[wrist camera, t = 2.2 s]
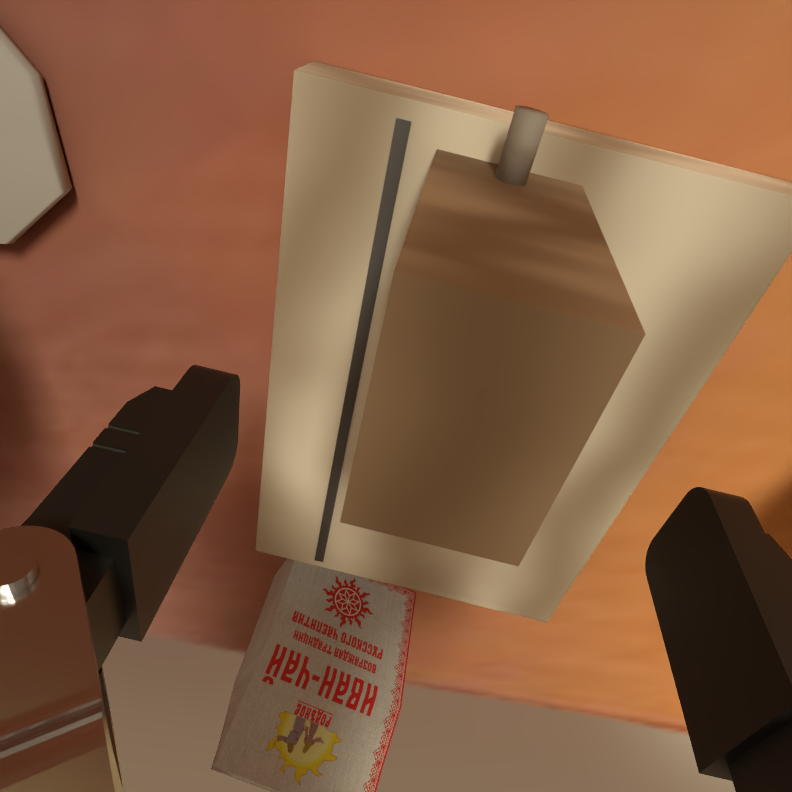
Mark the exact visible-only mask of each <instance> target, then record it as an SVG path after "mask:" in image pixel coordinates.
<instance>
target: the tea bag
mask: <svg viewBox="0 0 792 792" xmlns="http://www.w3.org/2000/svg"><path fill="white" fill-rule="evenodd" d="M415 596H416V593H414V592H412V591H410V590H408V589H406V588H404V587H401V586H397V585H393V584H389V583H385V582H381V581H377V580H373V579H369V578H365V577H361V576H356V575H352V574H348V573H344V572H340V571H336V570H332V569H328V568H324V567H320V566H316V565H312V564H308V563H304V562H300V561H296V560H292V559H288V558H287V559H286V561H285V562H284V563H283V565H282V566H281V567H280V569H279V570H278V571H277V573H276V574H275V576H274V579H273V581H272V584H271V587H270V589H269V592H268V595H267V597H266V600H265V603H264V605H263V608H262V611H261V614H260V616H259V619H258V622H257V624H256V627H255V630H254V632H253V635H252V638H251V640H250V643H249V646H248V648H247V651H246V654H245V657H244V659H243V662H242V665H241V667H240V670H239V673H238V675H237V678H236V681H235V684H234V688H233V692H232V696H231V700H230V704H229V708H228V712H227V715H226V719H225V723H224V727H223V731H222V734H221V738H220V742H219V745H218V749H217V752H216V756H215V758H214V762H213V765H212V768H211V769H212V770H215V771H218V772H220V773H223V774H226V775H229V776H231V777H234V778H236V779H239V780H242V781H245V782H247V783H250V784H253V785H255V786H258V787H261V788H263V789H266V790H269V791H271V792H376V789H377V785H378V782H379V778H380V774H381V771H382V767H383V764H384V761H385V758H386V754H387V751H388V748H389V745H390V741H391V738H392V735H393V732H394V728H395V725H396V722H397V719H398V715H399V712H400V709H401V702H402V696H403V688H404V680H405V673H406V665H407V657H408V650H409V642H410V634H411V626H412V619H413V611H414V603H415Z"/></svg>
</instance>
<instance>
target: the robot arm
mask: <svg viewBox="0 0 792 792" xmlns="http://www.w3.org/2000/svg"><path fill="white" fill-rule="evenodd" d="M239 399H240V379H239V376H238V375H235V374H231V373H227V372H223V371H219V370H214V369H210V368H206V367H202V366H198V365H193V366H191V367H190V368H189V369H188V371H187V372H186V373H185V374H184V376H183V377H182V378H181V380H180V381H179V382H178V384H177V385H176V386H175V388H174V389H173V390H168V389H164V388H160V387H156V386H155V387H153V388H151V389H150V390H148V391H146V392H144V393H142V394H141V395H139V396H137V397H135V398H134V399H132V400H130V401H128V402H127V403H126V404H125V405H124V406H123V408H122V409H121V410H120V411H119V412H118V413H117V415H116V416H115V417H114V418H113V419H112V420H111V422H110V423H109V426H108V428H105V429H104V430H103V431H102V432H101V433H100V435H99V436H98V437H97V438H96V439H95V440H94V442H93V446H92V447H89V448H88V449H87V450H86V451H85V452H84V453H83V455H82V456H81V457H80V458H79V459H78V460H77V462H76V463H75V464H74V465H73V466H72V468H71V469H70V470H69V471H68V472H67V473H66V475H65V476H64V477H63V478H62V479H61V480H60V482H59V483H58V484H57V485H56V486H55V488H54V489H53V490H52V491H51V492H50V493H49V495H48V496H47V497H46V498H45V499H44V500H43V502H42V503H41V504H40V505H39V506H38V508H37V509H36V510H35V511H34V512H33V513H32V515H31V516H30V517H29V518H28V519H27V520H26V521H25V522H24V523H23V524H22V525H21V526H16V527H11V528H6V529H2V530H0V792H125V789H124V784H123V778H122V773H121V767H120V762H119V756H118V751H117V745H116V739H115V734H114V729H113V723H112V717H111V712H110V706H109V701H108V695H107V689H106V684H105V678H104V673H103V668H102V664H103V663H104V661H105V659H106V657H107V656H108V654H109V652H110V650H111V648H112V647H113V645H114V643H115V641H116V639H117V638H118V636H120V637H124V638H128V639H133V640H137V641H142V640H143V638H144V636H145V634H146V632H147V630H148V628H149V626H150V624H151V622H152V620H153V619H154V617H155V615H156V613H157V611H158V609H159V607H160V605H161V603H162V601H163V599H164V597H165V596H166V594H167V592H168V590H169V588H170V586H171V584H172V582H173V580H174V578H175V576H176V574H177V572H178V571H179V569H180V567H181V565H182V563H183V561H184V559H185V557H186V555H187V553H188V551H189V549H190V548H191V546H192V544H193V542H194V540H195V538H196V536H197V534H198V532H199V530H200V528H201V526H202V525H203V523H204V521H205V519H206V517H207V515H208V513H209V511H210V509H211V507H212V505H213V503H214V501H215V500H216V498H217V496H218V494H219V492H220V490H221V488H222V486H223V484H224V482H225V480H226V478H227V477H228V474H229V472H230V470H231V467H232V465H233V461H234V458H235V454H236V449H237V443H238V424H239ZM645 569H646V576H647V580H648V584H649V587H650V591H651V595H652V599H653V602H654V606H655V610H656V614H657V617H658V621H659V625H660V628H661V632H662V636H663V640H664V643H665V647H666V651H667V655H668V658H669V662H670V666H671V670H672V673H673V677H674V681H675V685H676V688H677V692H678V696H679V699H680V703H681V707H682V711H683V714H684V718H685V722H686V726H687V729H688V733H689V737H690V740H691V744H692V747H693V752H694V755H695V759H696V763H697V767H698V770H699V773H701V774H705V775H709V776H714V777H718V778H722V779H727V780H731V781H733V784H734V787H735V790H736V792H792V559H791V558H790V557H789V556H788V555H787V554H786V552H785V551H784V550H783V549H782V548H781V547H780V546H779V545H778V543H777V542H776V541H775V540H774V539H773V538H772V537H771V536H770V535H769V534H766V533H765V532H764V530H763V528H762V526H761V524H760V523H759V521H758V519H757V517H756V515H755V513H754V511H753V509H752V507H751V505H750V503H749V502H748V501H747V500H746V499H744V498H742V497H739V496H735V495H731V494H727V493H723V492H718V491H714V490H710V489H706V488H702V487H696V488H693V489H691V490H690V491H689V492H688V493H687V494H686V495H685V497H684V498H683V499H682V501H681V502H680V503H679V505H678V506H677V508H676V509H675V510H674V512H673V513H672V514H671V516H670V517H669V518H668V520H667V521H666V522H665V524H664V525H663V526H662V528H661V529H660V530H659V532H658V533H657V534H656V536H655V537H654V538H653V540H652V541H651V543H650V545H649V548H648V551H647V555H646V563H645Z"/></svg>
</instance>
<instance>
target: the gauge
mask: <svg viewBox="0 0 792 792" xmlns="http://www.w3.org/2000/svg"><path fill="white" fill-rule="evenodd" d="M548 117H549V114H547V113H545V112H543V111H540V110H537V109H534V108H530V107H525V106H516V107H515V111H514V114H513V117H512V121H511V124H510V127H509V131H508V134H507V137H506V141H505V144H504V147H503V151H502V154H501V157H500V161H499V164H494V163H490V162H486V161H482V160H479V159H475V158H471V157H467V156H463V155H459V154H455V153H451V152H447V151H443V150H439V149H437V150H436V153H435V155H434V158H433V161H432V164H431V167H430V170H429V172H428V175H427V178H426V181H425V184H424V187H423V190H422V192H421V195H420V198H419V201H418V204H417V207H416V210H415V212H414V215H413V218H412V221H411V224H410V227H409V229H408V232H407V235H406V238H405V241H404V244H403V247H402V249H401V252H400V255H399V258H398V261H397V264H396V266H395V269H394V273H393V277H392V282H391V287H390V291H389V296H388V301H387V305H386V310H385V315H384V319H383V324H382V329H381V333H380V338H379V343H378V347H377V352H376V357H375V361H374V366H373V370H372V375H371V380H370V384H369V389H368V394H367V398H366V403H365V408H364V412H363V417H362V422H361V426H360V431H359V436H358V440H357V445H356V450H355V454H354V459H353V463H352V468H351V473H350V477H349V482H348V487H347V491H346V496H345V501H344V505H343V510H342V515H341V519H340V522H341V523H345V524H349V525H353V526H357V527H361V528H365V529H369V530H373V531H377V532H381V533H385V534H389V535H393V536H397V537H401V538H405V539H409V540H414V541H418V542H422V543H426V544H430V545H434V546H438V547H442V548H446V549H450V550H454V551H458V552H462V553H466V554H470V555H474V556H478V557H482V558H486V559H490V560H494V561H498V562H502V563H506V564H510V565H515V566H519V565H520V563H521V561H522V559H523V558H524V556H525V554H526V552H527V550H528V548H529V547H530V545H531V543H532V541H533V539H534V537H535V536H536V534H537V532H538V530H539V528H540V526H541V525H542V523H543V521H544V519H545V517H546V515H547V514H548V512H549V510H550V508H551V506H552V505H553V503H554V501H555V499H556V497H557V495H558V494H559V492H560V490H561V488H562V486H563V484H564V483H565V481H566V479H567V477H568V475H569V473H570V472H571V470H572V468H573V466H574V464H575V462H576V461H577V459H578V457H579V455H580V453H581V452H582V450H583V448H584V446H585V444H586V442H587V441H588V439H589V437H590V435H591V433H592V431H593V430H594V428H595V426H596V424H597V422H598V420H599V419H600V417H601V415H602V413H603V411H604V410H605V408H606V406H607V404H608V402H609V400H610V399H611V397H612V395H613V393H614V391H615V389H616V388H617V386H618V384H619V382H620V380H621V378H622V377H623V375H624V373H625V371H626V369H627V367H628V366H629V364H630V362H631V360H632V358H633V357H634V355H635V353H636V351H637V349H638V347H639V346H640V344H641V342H642V340H643V338H644V336H645V335H646V334H645V332H644V329H643V327H642V325H641V322H640V320H639V318H638V315H637V313H636V310H635V308H634V306H633V303H632V301H631V299H630V296H629V294H628V292H627V289H626V287H625V285H624V282H623V280H622V278H621V275H620V273H619V271H618V268H617V266H616V264H615V261H614V259H613V257H612V254H611V252H610V250H609V247H608V245H607V243H606V240H605V238H604V236H603V233H602V231H601V229H600V226H599V224H598V222H597V219H596V217H595V214H594V212H593V210H592V207H591V205H590V203H589V200H588V198H587V196H586V193H585V191H584V189H583V186H582V185H578V184H574V183H570V182H566V181H562V180H558V179H554V178H550V177H546V176H542V175H538V174H534V173H530V171H531V168H532V165H533V162H534V159H535V156H536V153H537V150H538V147H539V144H540V141H541V138H542V135H543V132H544V129H545V126H546V123H547V120H548Z"/></svg>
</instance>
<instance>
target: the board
mask: <svg viewBox="0 0 792 792" xmlns="http://www.w3.org/2000/svg"><path fill="white" fill-rule="evenodd" d="M513 114H514V112H513V111H509V110H505V109H501V108H497V107H493V106H489V105H485V104H481V103H477V102H473V101H469V100H465V99H461V98H457V97H453V96H449V95H445V94H441V93H437V92H433V91H430V90H426V89H422V88H418V87H414V86H410V85H406V84H402V83H398V82H394V81H390V80H386V79H382V78H378V77H374V76H370V75H366V74H362V73H358V72H354V71H350V70H347V69H343V68H339V67H335V66H331V65H327V64H323V63H319V62H315V61H314V62H311V63H309V64H307V65H305V66H302V67H300V68H298V69H295V70H294V79H293V91H292V104H291V116H290V128H289V141H288V153H287V166H286V178H285V190H284V203H283V215H282V228H281V240H280V252H279V265H278V277H277V290H276V302H275V314H274V327H273V339H272V352H271V364H270V376H269V389H268V401H267V414H266V426H265V438H264V451H263V463H262V476H261V488H260V500H259V513H258V525H257V538H256V550H255V551H259V552H263V553H267V554H271V555H275V556H280V557H284V558H288V559H292V560H296V561H300V562H304V563H308V564H312V565H316V566H320V567H324V568H328V569H332V570H336V571H340V572H344V573H348V574H352V575H356V576H361V577H365V578H369V579H373V580H377V581H381V582H385V583H389V584H393V585H397V586H401V587H405V588H409V589H413V590H417V591H421V592H425V593H429V594H433V595H437V596H441V597H446V598H450V599H454V600H458V601H462V602H466V603H470V604H474V605H478V606H482V607H486V608H490V609H494V610H498V611H502V612H506V613H510V614H514V615H518V616H522V617H527V618H531V619H535V620H539V621H543V622H547V621H548V619H549V618H550V616H551V615H552V613H553V612H554V610H555V609H556V607H557V606H558V604H559V603H560V601H561V600H562V598H563V597H564V595H565V594H566V592H567V591H568V589H569V588H570V586H571V585H572V583H573V582H574V580H575V579H576V577H577V576H578V574H579V573H580V571H581V570H582V568H583V567H584V565H585V564H586V562H587V561H588V559H589V558H590V556H591V555H592V553H593V552H594V550H595V548H596V547H597V545H598V544H599V542H600V541H601V539H602V538H603V536H604V535H605V533H606V532H607V530H608V529H609V527H610V526H611V524H612V523H613V521H614V520H615V518H616V517H617V515H618V514H619V512H620V511H621V509H622V508H623V506H624V505H625V503H626V502H627V500H628V499H629V497H630V496H631V494H632V493H633V491H634V490H635V488H636V487H637V485H638V484H639V482H640V481H641V479H642V477H643V476H644V474H645V473H646V471H647V470H648V468H649V467H650V465H651V464H652V462H653V461H654V459H655V458H656V456H657V455H658V453H659V452H660V450H661V449H662V447H663V446H664V444H665V443H666V441H667V440H668V438H669V437H670V435H671V434H672V432H673V431H674V429H675V428H676V426H677V425H678V423H679V422H680V420H681V419H682V417H683V416H684V414H685V413H686V411H687V410H688V408H689V406H690V405H691V403H692V402H693V400H694V399H695V397H696V396H697V394H698V393H699V391H700V390H701V388H702V387H703V385H704V384H705V382H706V381H707V379H708V378H709V376H710V375H711V373H712V372H713V370H714V369H715V367H716V366H717V364H718V363H719V361H720V360H721V358H722V357H723V355H724V354H725V352H726V351H727V349H728V348H729V346H730V345H731V343H732V342H733V340H734V338H735V337H736V335H737V334H738V332H739V331H740V329H741V328H742V326H743V325H744V323H745V322H746V320H747V319H748V317H749V316H750V314H751V313H752V311H753V310H754V308H755V307H756V305H757V304H758V302H759V301H760V299H761V298H762V296H763V295H764V293H765V292H766V290H767V289H768V287H769V286H770V284H771V283H772V281H773V280H774V278H775V277H776V275H777V274H778V272H779V271H780V269H781V267H782V266H783V264H784V263H785V261H786V260H787V258H788V257H789V255H790V254H791V252H792V182H789V181H785V180H781V179H778V178H774V177H770V176H766V175H762V174H758V173H754V172H750V171H746V170H742V169H738V168H734V167H730V166H726V165H722V164H718V163H714V162H710V161H706V160H702V159H698V158H694V157H691V156H687V155H683V154H679V153H675V152H671V151H667V150H663V149H659V148H655V147H651V146H647V145H643V144H639V143H635V142H631V141H627V140H623V139H619V138H615V137H611V136H607V135H604V134H600V133H596V132H592V131H588V130H584V129H580V128H576V127H572V126H568V125H564V124H560V123H556V122H552V121H548V120H547V123H546V126H545V129H544V132H543V135H542V138H541V141H540V144H539V147H538V150H537V153H536V156H535V159H534V162H533V165H532V168H531V171H530V173H534V174H538V175H542V176H546V177H550V178H554V179H558V180H562V181H566V182H570V183H574V184H578V185H582V186H583V189H584V191H585V193H586V196H587V198H588V200H589V203H590V205H591V207H592V210H593V212H594V214H595V217H596V219H597V222H598V224H599V226H600V229H601V231H602V233H603V236H604V238H605V240H606V243H607V245H608V247H609V250H610V252H611V254H612V257H613V259H614V261H615V264H616V266H617V268H618V271H619V273H620V275H621V278H622V280H623V282H624V285H625V287H626V289H627V292H628V294H629V296H630V299H631V301H632V303H633V306H634V308H635V310H636V313H637V315H638V318H639V320H640V322H641V325H642V327H643V329H644V332H645V334H646V335H645V336H644V338H643V340H642V342H641V344H640V346H639V347H638V349H637V351H636V353H635V355H634V357H633V358H632V360H631V362H630V364H629V366H628V367H627V369H626V371H625V373H624V375H623V377H622V378H621V380H620V382H619V384H618V386H617V388H616V389H615V391H614V393H613V395H612V397H611V399H610V400H609V402H608V404H607V406H606V408H605V410H604V411H603V413H602V415H601V417H600V419H599V420H598V422H597V424H596V426H595V428H594V430H593V431H592V433H591V435H590V437H589V439H588V441H587V442H586V444H585V446H584V448H583V450H582V452H581V453H580V455H579V457H578V459H577V461H576V462H575V464H574V466H573V468H572V470H571V472H570V473H569V475H568V477H567V479H566V481H565V483H564V484H563V486H562V488H561V490H560V492H559V494H558V495H557V497H556V499H555V501H554V503H553V505H552V506H551V508H550V510H549V512H548V514H547V515H546V517H545V519H544V521H543V523H542V525H541V526H540V528H539V530H538V532H537V534H536V536H535V537H534V539H533V541H532V543H531V545H530V547H529V548H528V550H527V552H526V554H525V556H524V558H523V559H522V561H521V563H520V565H519V566H515V565H510V564H506V563H502V562H498V561H494V560H490V559H486V558H482V557H478V556H474V555H470V554H466V553H462V552H458V551H454V550H450V549H446V548H442V547H438V546H434V545H430V544H426V543H422V542H418V541H414V540H409V539H405V538H401V537H397V536H393V535H389V534H385V533H381V532H377V531H373V530H369V529H365V528H361V527H357V526H353V525H349V524H345V523H341V522H340V519H341V515H342V510H343V505H344V501H345V496H346V491H347V487H348V482H349V477H350V473H351V468H352V463H353V459H354V454H355V450H356V445H357V440H358V436H359V431H360V426H361V422H362V417H363V412H364V408H365V403H366V398H367V394H368V389H369V384H370V380H371V375H372V370H373V366H374V361H375V357H376V352H377V347H378V343H379V338H380V333H381V329H382V324H383V319H384V315H385V310H386V305H387V301H388V296H389V291H390V287H391V282H392V277H393V273H394V269H395V266H396V264H397V261H398V258H399V255H400V252H401V249H402V247H403V244H404V241H405V238H406V235H407V232H408V229H409V227H410V224H411V221H412V218H413V215H414V212H415V210H416V207H417V204H418V201H419V198H420V195H421V192H422V190H423V187H424V184H425V181H426V178H427V175H428V172H429V170H430V167H431V164H432V161H433V158H434V155H435V153H436V150H437V149H439V150H443V151H447V152H451V153H455V154H459V155H463V156H467V157H471V158H475V159H479V160H482V161H486V162H490V163H494V164H499V161H500V157H501V154H502V151H503V147H504V144H505V141H506V137H507V134H508V131H509V127H510V124H511V121H512V117H513Z"/></svg>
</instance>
